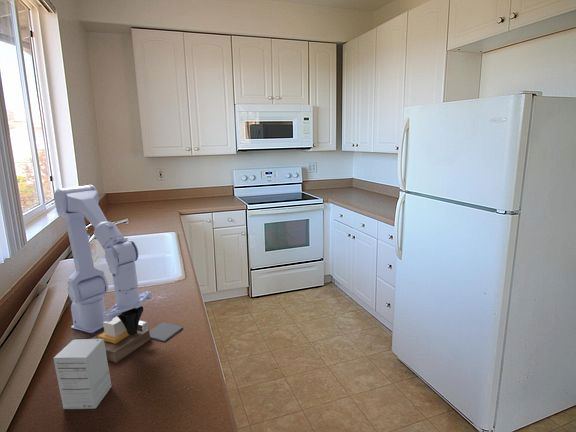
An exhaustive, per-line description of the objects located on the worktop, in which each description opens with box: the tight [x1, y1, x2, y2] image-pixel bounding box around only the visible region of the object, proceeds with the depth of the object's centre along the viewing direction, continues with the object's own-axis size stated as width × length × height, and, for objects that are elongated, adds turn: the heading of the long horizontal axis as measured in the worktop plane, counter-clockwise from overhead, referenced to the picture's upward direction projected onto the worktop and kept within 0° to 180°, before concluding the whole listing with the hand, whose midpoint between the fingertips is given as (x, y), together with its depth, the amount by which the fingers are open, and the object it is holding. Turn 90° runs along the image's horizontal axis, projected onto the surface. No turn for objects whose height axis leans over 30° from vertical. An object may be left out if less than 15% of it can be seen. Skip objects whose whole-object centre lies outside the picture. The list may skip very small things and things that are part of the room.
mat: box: [149, 322, 184, 343], centre depth 109 cm, size 8×8×1 cm
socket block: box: [90, 328, 151, 363], centre depth 102 cm, size 12×12×3 cm
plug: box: [98, 317, 129, 344], centre depth 102 cm, size 6×6×8 cm
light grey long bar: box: [138, 319, 149, 332], centre depth 104 cm, size 13×2×3 cm, turn 66°
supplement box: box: [53, 338, 112, 410], centre depth 81 cm, size 7×7×13 cm
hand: (132, 333), depth 99 cm, fingers closed
